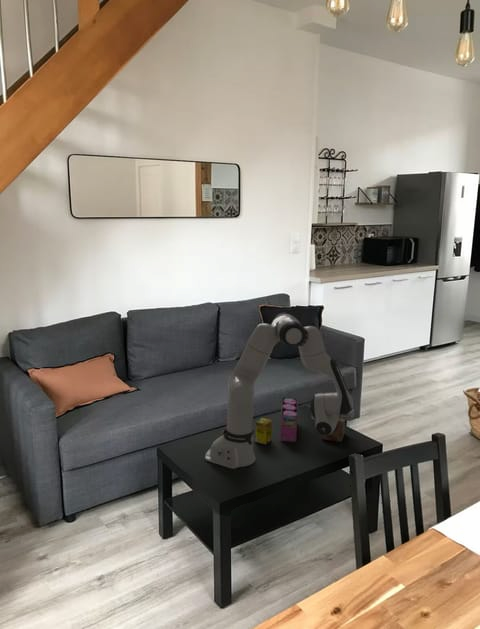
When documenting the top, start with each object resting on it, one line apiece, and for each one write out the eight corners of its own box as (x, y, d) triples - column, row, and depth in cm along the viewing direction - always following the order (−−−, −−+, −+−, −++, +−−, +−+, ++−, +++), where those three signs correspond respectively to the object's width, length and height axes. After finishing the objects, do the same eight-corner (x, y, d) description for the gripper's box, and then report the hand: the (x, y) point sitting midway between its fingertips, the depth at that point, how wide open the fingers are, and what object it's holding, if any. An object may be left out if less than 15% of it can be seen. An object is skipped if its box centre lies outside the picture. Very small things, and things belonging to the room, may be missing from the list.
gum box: (281, 420, 270) (282, 396, 267) (296, 421, 269) (297, 397, 266) (280, 441, 246) (281, 414, 244) (296, 442, 246) (297, 415, 243)
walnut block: (320, 439, 249) (321, 423, 248) (324, 430, 259) (325, 415, 257) (341, 442, 246) (342, 426, 245) (344, 433, 256) (345, 418, 254)
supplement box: (265, 446, 241) (266, 424, 238) (254, 443, 244) (255, 421, 241) (271, 441, 246) (272, 420, 243) (260, 438, 249) (261, 417, 246)
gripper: (352, 412, 233) (356, 402, 246) (308, 406, 240) (314, 396, 252) (352, 425, 234) (355, 414, 247) (308, 418, 241) (314, 408, 254)
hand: (334, 405), depth 250 cm, fingers open, 8 cm apart
